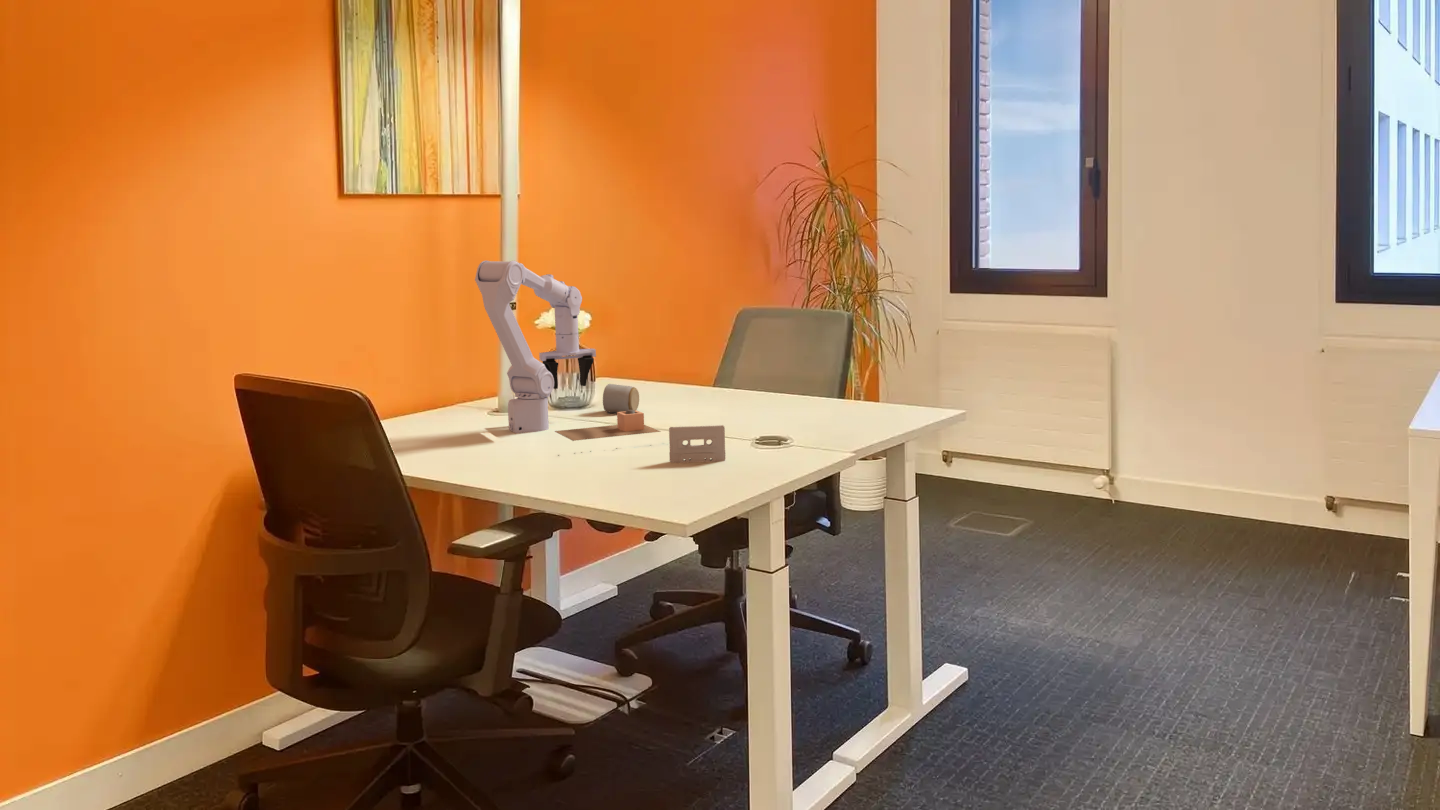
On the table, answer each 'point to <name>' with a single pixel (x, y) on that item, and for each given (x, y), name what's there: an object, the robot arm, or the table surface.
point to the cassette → (697, 451)
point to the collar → (630, 421)
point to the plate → (602, 431)
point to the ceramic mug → (620, 398)
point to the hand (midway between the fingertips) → (569, 387)
